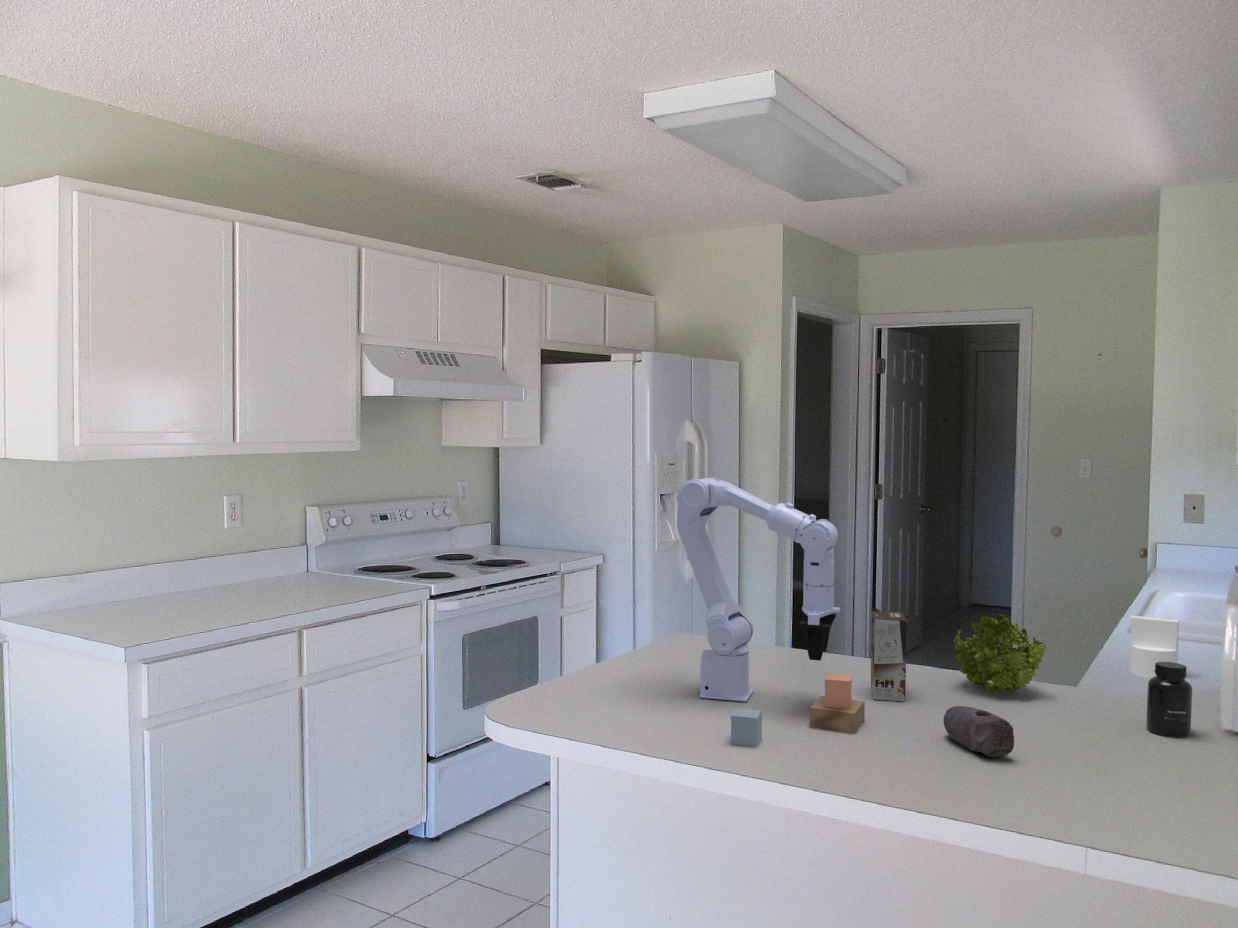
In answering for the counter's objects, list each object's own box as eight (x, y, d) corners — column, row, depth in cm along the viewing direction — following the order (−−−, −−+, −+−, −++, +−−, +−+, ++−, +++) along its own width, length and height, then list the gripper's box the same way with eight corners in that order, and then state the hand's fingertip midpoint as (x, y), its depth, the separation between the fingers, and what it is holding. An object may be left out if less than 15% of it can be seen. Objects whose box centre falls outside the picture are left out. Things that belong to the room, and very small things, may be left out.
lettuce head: (1069, 669, 192) (1048, 628, 183) (1017, 724, 191) (994, 686, 181) (998, 624, 207) (976, 584, 197) (949, 675, 205) (925, 637, 196)
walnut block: (809, 729, 171) (809, 707, 171) (821, 716, 178) (821, 695, 178) (854, 735, 168) (854, 713, 167) (864, 722, 175) (864, 701, 175)
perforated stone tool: (933, 735, 167) (933, 696, 166) (958, 732, 168) (959, 693, 168) (990, 765, 152) (990, 722, 152) (1017, 762, 154) (1018, 719, 153)
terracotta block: (824, 706, 171) (824, 679, 171) (826, 699, 175) (826, 673, 175) (850, 708, 170) (850, 681, 170) (851, 701, 174) (851, 674, 174)
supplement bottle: (1175, 740, 163) (1177, 671, 163) (1137, 729, 169) (1139, 662, 169) (1199, 734, 167) (1201, 666, 166) (1161, 723, 173) (1163, 657, 172)
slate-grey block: (730, 744, 163) (731, 715, 162) (736, 736, 167) (736, 708, 167) (757, 747, 161) (757, 718, 161) (761, 738, 165) (761, 710, 165)
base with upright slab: (1178, 671, 207) (1179, 617, 207) (1176, 681, 200) (1177, 624, 199) (1131, 666, 212) (1132, 612, 212) (1128, 675, 205) (1129, 620, 204)
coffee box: (906, 701, 186) (907, 620, 186) (872, 700, 188) (873, 618, 187) (902, 688, 195) (903, 610, 194) (870, 687, 197) (870, 609, 196)
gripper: (836, 592, 173) (835, 665, 174) (844, 579, 187) (843, 647, 188) (796, 589, 175) (796, 662, 176) (807, 577, 189) (806, 644, 190)
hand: (817, 654), depth 182 cm, fingers open, 7 cm apart
